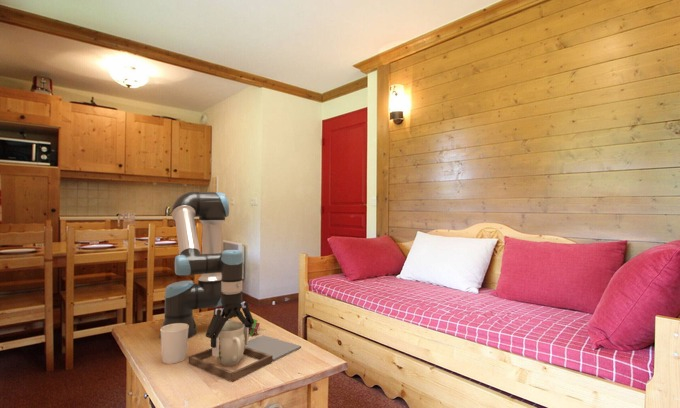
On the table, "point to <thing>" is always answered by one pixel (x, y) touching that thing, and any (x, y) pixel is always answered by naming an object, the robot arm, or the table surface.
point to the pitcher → (231, 343)
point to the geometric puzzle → (254, 327)
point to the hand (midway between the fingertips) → (231, 350)
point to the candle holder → (174, 342)
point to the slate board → (272, 346)
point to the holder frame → (227, 374)
